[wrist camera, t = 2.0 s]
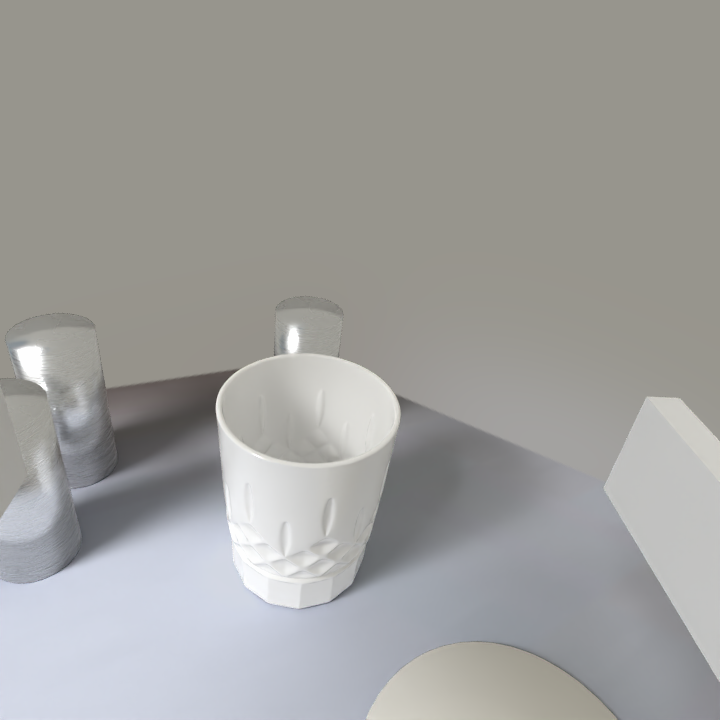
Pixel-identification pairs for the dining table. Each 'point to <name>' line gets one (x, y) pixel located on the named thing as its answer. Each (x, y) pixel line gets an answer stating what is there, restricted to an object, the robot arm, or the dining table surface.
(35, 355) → the cylinder
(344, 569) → the white cup
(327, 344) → the cylinder
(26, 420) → the cylinder
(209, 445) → the dining table surface
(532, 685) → the coaster
